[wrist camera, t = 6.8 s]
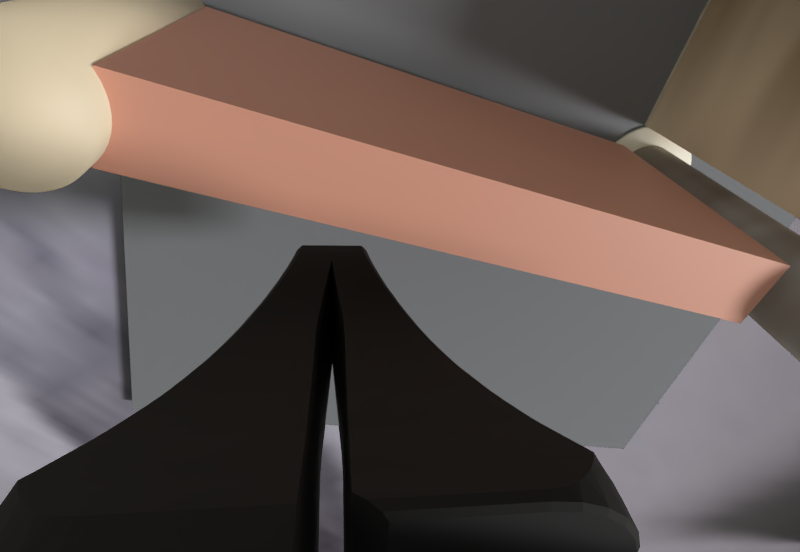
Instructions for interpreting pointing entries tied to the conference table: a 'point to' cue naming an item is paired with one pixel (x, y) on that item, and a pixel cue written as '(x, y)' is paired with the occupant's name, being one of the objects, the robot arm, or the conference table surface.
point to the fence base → (742, 133)
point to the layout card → (433, 270)
